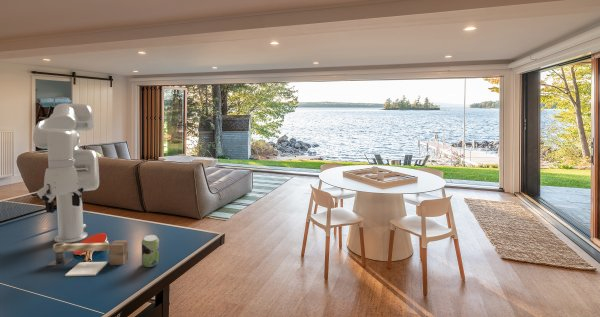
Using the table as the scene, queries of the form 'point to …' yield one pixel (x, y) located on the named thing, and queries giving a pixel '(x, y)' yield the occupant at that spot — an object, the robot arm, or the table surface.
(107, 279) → the table surface
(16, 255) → the table surface
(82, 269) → the tile
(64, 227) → the robot arm
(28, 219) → the table surface
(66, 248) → the swing arm
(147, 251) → the beverage can
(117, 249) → the walnut block
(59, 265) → the pivot plate
